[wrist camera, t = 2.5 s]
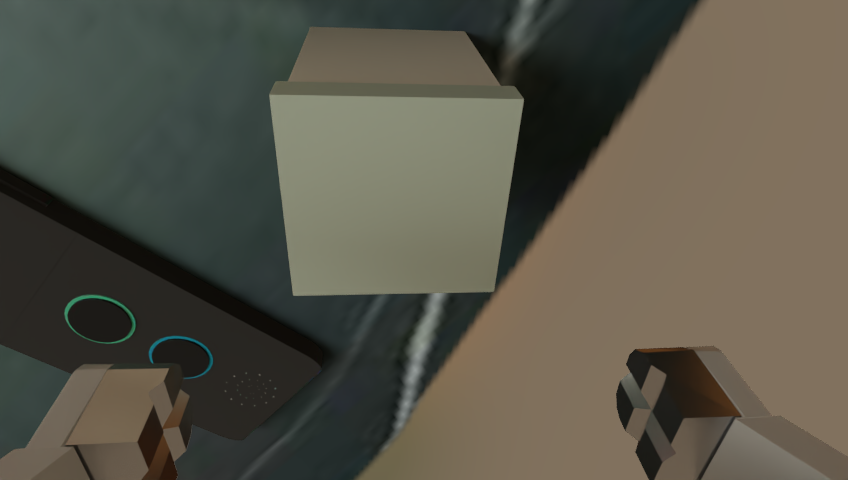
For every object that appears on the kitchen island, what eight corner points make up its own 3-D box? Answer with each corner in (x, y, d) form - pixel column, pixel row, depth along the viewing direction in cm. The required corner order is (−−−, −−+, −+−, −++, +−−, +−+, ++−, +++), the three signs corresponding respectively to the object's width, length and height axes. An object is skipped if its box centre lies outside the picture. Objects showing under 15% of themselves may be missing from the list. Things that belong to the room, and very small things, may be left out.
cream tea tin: (304, 20, 19) (269, 94, 12) (470, 26, 19) (523, 99, 13) (315, 172, 22) (292, 295, 15) (457, 173, 23) (493, 291, 16)
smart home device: (237, 447, 30) (-203, 266, 21) (243, 421, 31) (-167, 241, 22) (328, 367, 27) (-141, 116, 18) (330, 343, 28) (-103, 99, 19)
